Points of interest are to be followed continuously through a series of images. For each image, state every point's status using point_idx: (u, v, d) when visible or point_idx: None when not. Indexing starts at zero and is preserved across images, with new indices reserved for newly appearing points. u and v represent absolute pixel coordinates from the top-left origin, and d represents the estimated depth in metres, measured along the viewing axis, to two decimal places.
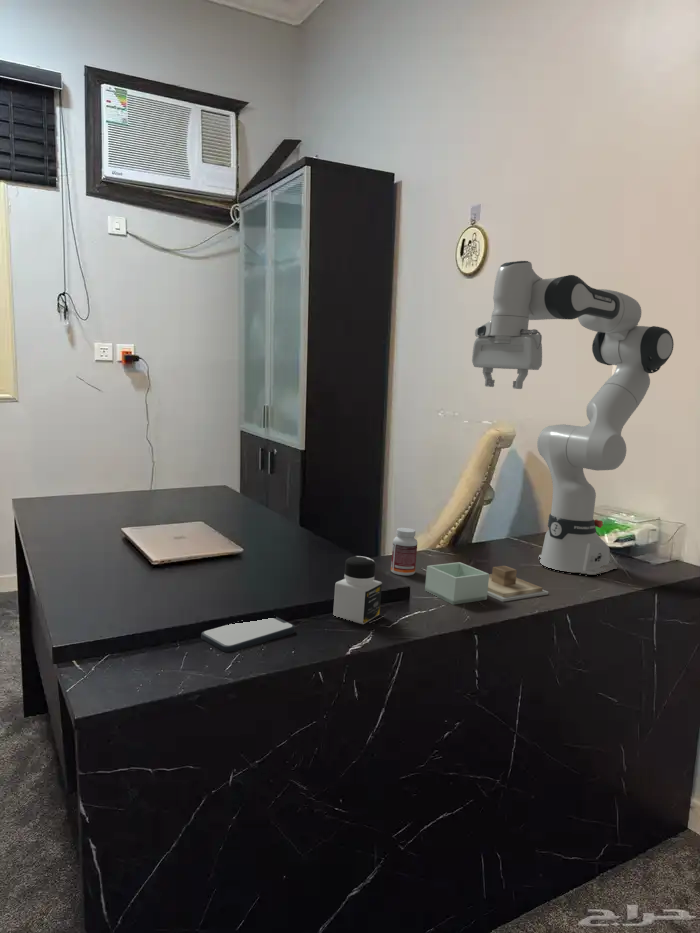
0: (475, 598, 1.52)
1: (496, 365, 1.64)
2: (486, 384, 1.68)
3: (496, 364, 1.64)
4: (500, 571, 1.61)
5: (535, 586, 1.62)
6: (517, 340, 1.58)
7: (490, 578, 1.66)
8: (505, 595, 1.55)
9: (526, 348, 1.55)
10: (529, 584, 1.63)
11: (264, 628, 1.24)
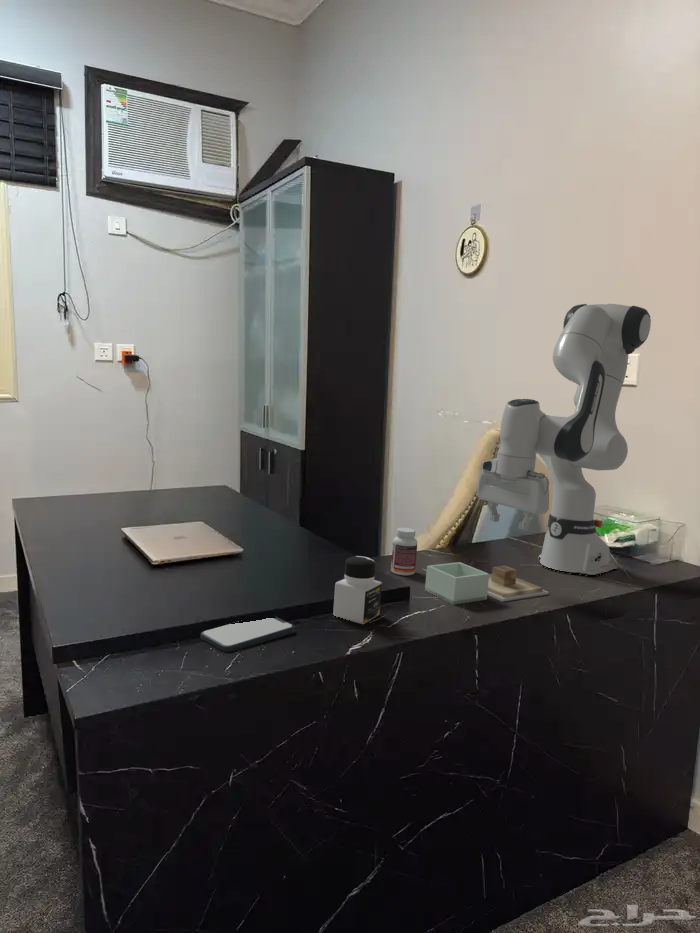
0: (475, 598, 1.52)
1: (502, 503, 1.60)
2: (491, 519, 1.65)
3: (502, 502, 1.60)
4: (500, 571, 1.61)
5: (535, 586, 1.62)
6: (524, 482, 1.55)
7: (490, 578, 1.66)
8: (505, 595, 1.55)
9: (533, 493, 1.52)
10: (529, 584, 1.63)
11: (264, 628, 1.24)
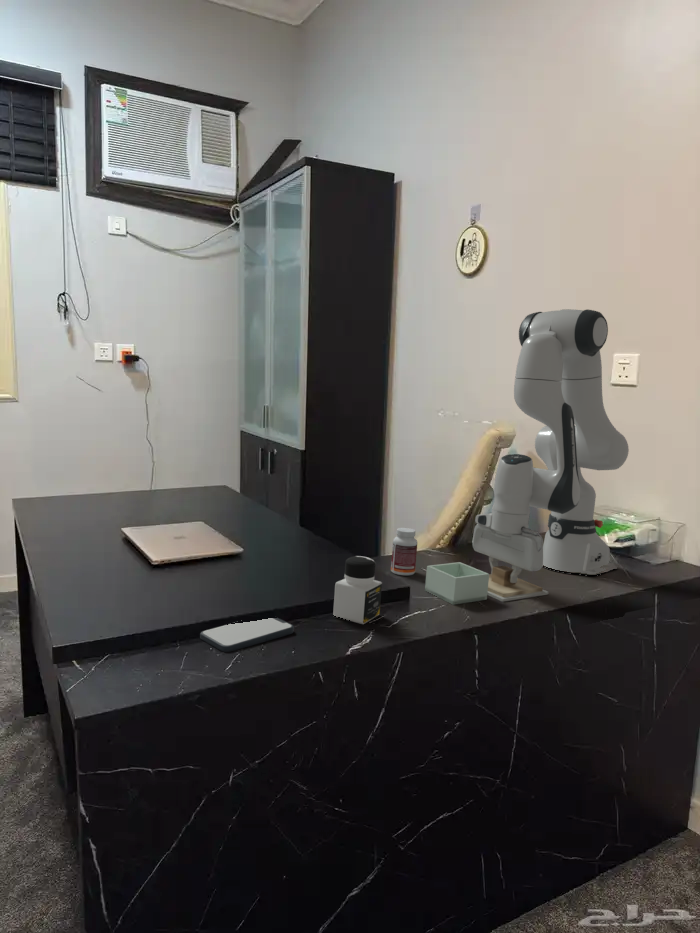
0: (475, 598, 1.52)
1: (497, 557, 1.62)
2: None
3: (497, 556, 1.62)
4: (500, 571, 1.61)
5: (535, 586, 1.62)
6: (518, 539, 1.57)
7: (490, 578, 1.66)
8: (504, 595, 1.55)
9: (527, 550, 1.54)
10: (529, 584, 1.63)
11: (263, 628, 1.24)
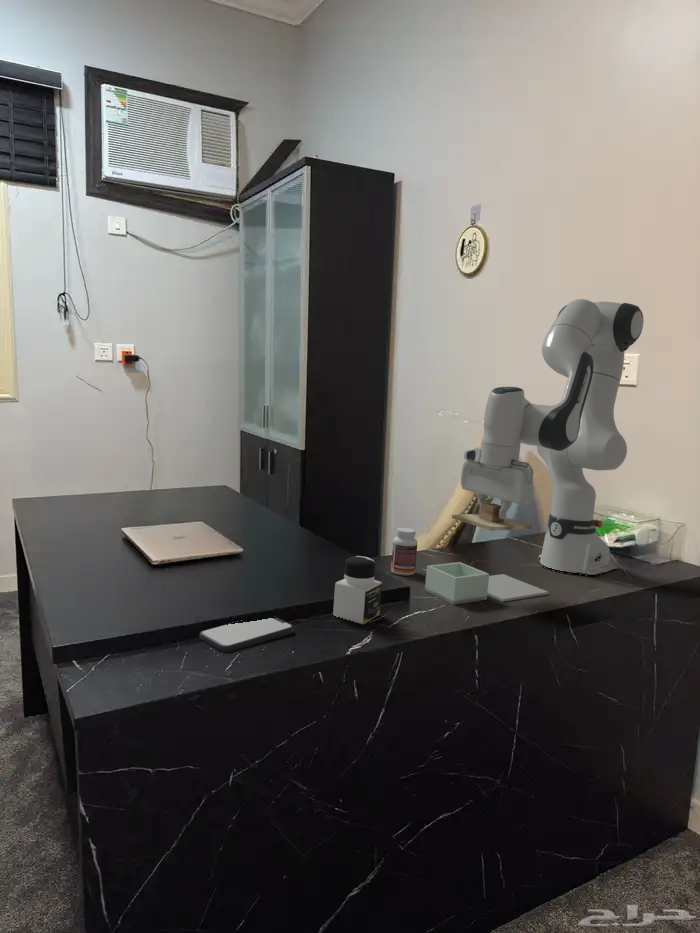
0: (475, 598, 1.52)
1: (485, 493, 1.57)
2: None
3: (486, 492, 1.57)
4: (488, 507, 1.55)
5: (524, 524, 1.56)
6: (507, 471, 1.51)
7: (478, 516, 1.60)
8: (493, 529, 1.49)
9: (517, 482, 1.49)
10: (518, 522, 1.57)
11: (263, 628, 1.24)
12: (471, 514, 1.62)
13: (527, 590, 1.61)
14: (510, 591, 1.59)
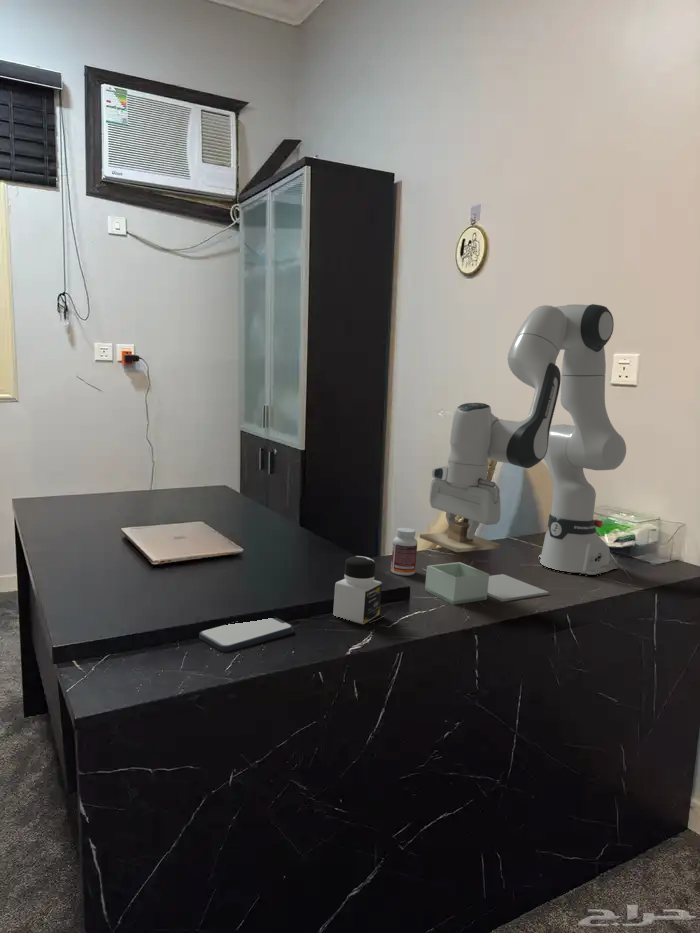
0: (475, 598, 1.52)
1: (453, 512, 1.53)
2: None
3: (453, 511, 1.53)
4: (456, 526, 1.52)
5: (493, 543, 1.52)
6: (474, 491, 1.47)
7: (447, 535, 1.56)
8: (459, 550, 1.45)
9: (483, 502, 1.45)
10: (487, 541, 1.53)
11: (263, 628, 1.24)
12: (440, 533, 1.58)
13: (527, 590, 1.61)
14: (510, 591, 1.59)
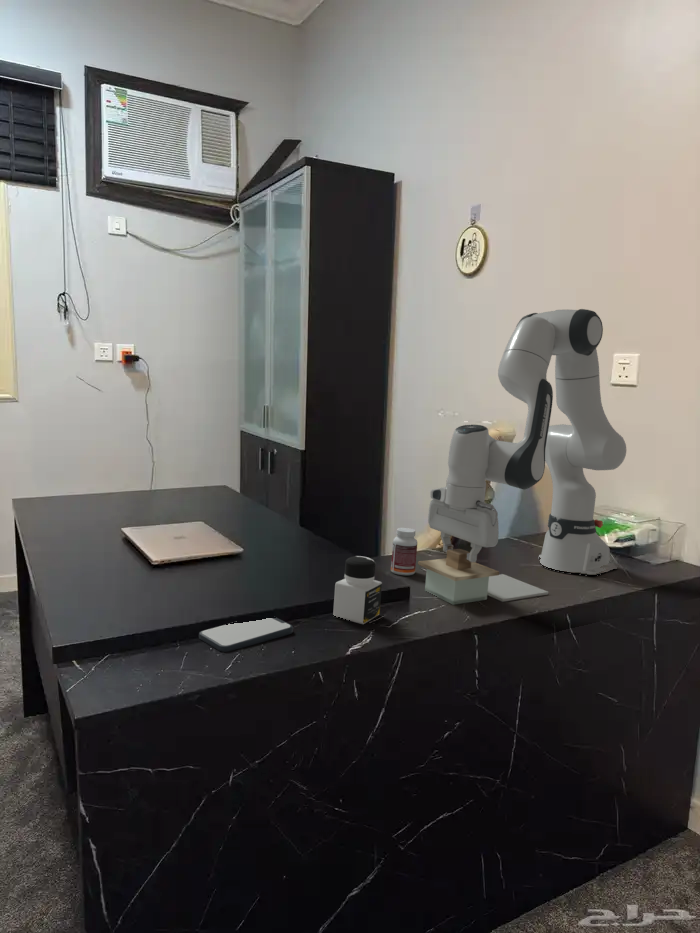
0: (475, 598, 1.52)
1: (452, 533, 1.54)
2: (444, 550, 1.57)
3: (452, 533, 1.53)
4: (454, 554, 1.52)
5: (491, 570, 1.53)
6: (472, 513, 1.48)
7: (445, 562, 1.57)
8: (457, 579, 1.46)
9: (481, 525, 1.45)
10: (485, 568, 1.54)
11: (262, 628, 1.24)
12: (438, 559, 1.59)
13: (527, 590, 1.61)
14: (510, 591, 1.59)
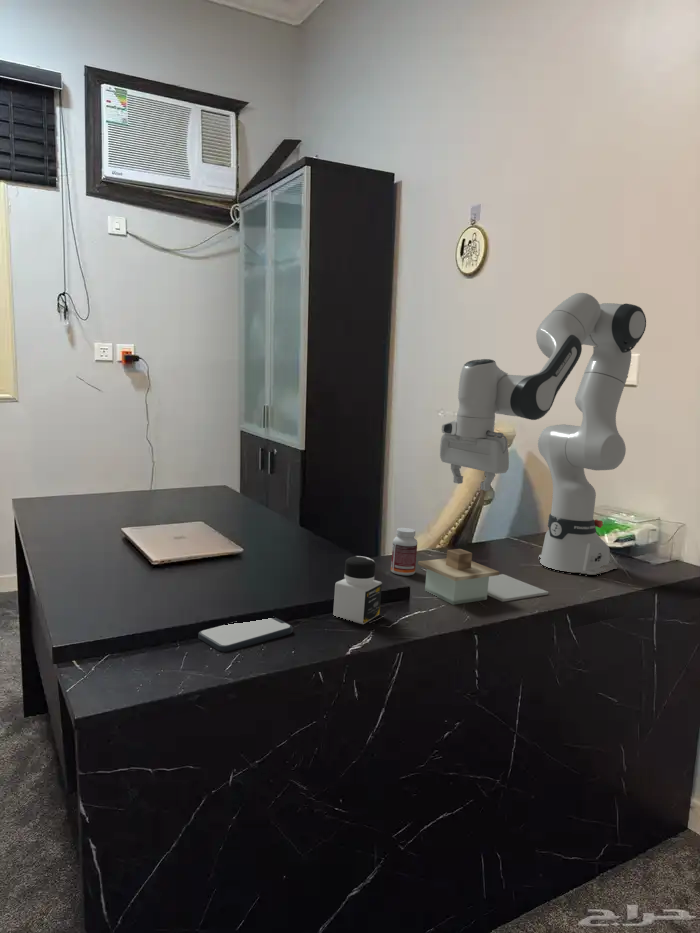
0: (475, 598, 1.52)
1: (463, 464, 1.61)
2: (454, 481, 1.65)
3: (464, 463, 1.61)
4: (454, 554, 1.52)
5: (491, 570, 1.53)
6: (483, 442, 1.55)
7: (445, 562, 1.57)
8: (457, 579, 1.46)
9: (492, 452, 1.52)
10: (485, 568, 1.54)
11: (262, 628, 1.24)
12: (438, 559, 1.59)
13: (527, 590, 1.61)
14: (510, 591, 1.59)
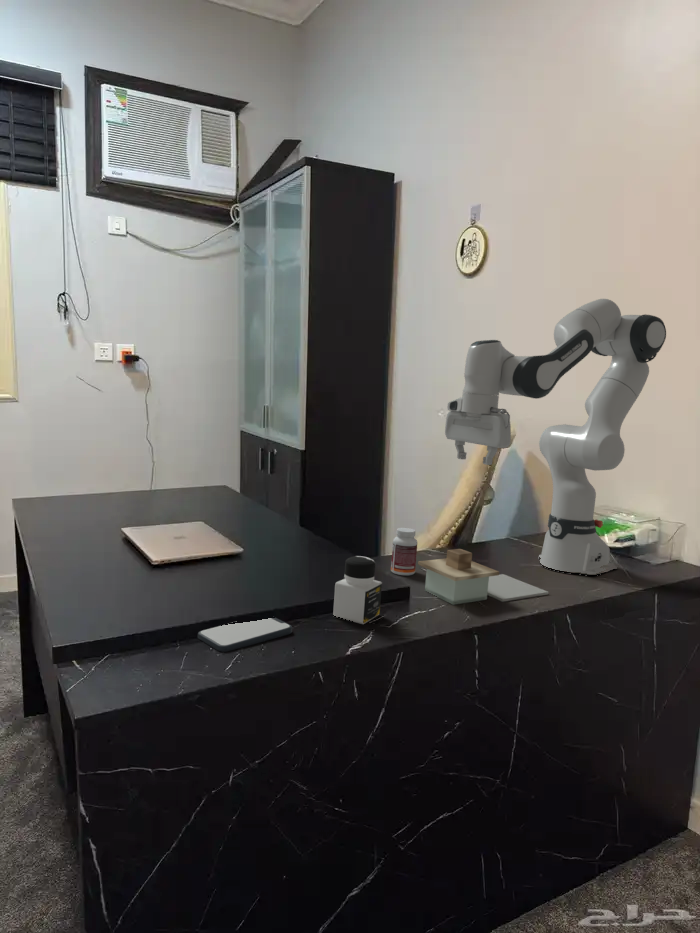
0: (475, 598, 1.52)
1: (467, 440, 1.68)
2: (458, 457, 1.72)
3: (467, 439, 1.68)
4: (454, 554, 1.52)
5: (491, 570, 1.53)
6: (487, 418, 1.62)
7: (445, 562, 1.57)
8: (457, 579, 1.46)
9: (495, 427, 1.60)
10: (485, 568, 1.54)
11: (261, 628, 1.24)
12: (438, 559, 1.59)
13: (527, 590, 1.61)
14: (510, 591, 1.59)
